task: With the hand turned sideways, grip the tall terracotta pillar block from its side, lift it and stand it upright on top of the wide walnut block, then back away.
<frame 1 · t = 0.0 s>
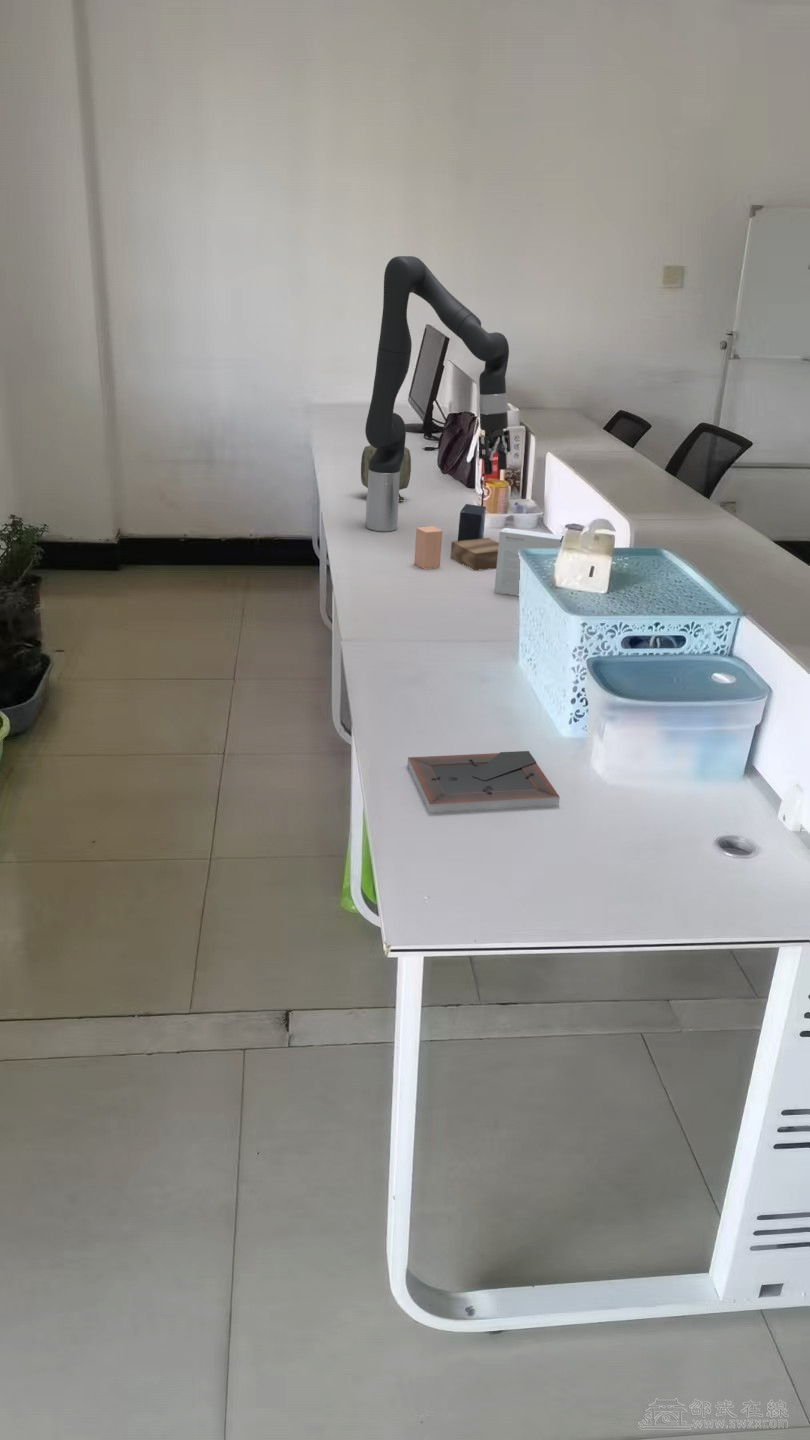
hand: (495, 471, 304), 22 cm above the table, tool pointing down, fingers open, 8 cm apart
tabletop clock: (383, 501, 361), on the table
terracotta pillar: (426, 565, 296), on the table
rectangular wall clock: (480, 789, 184), on the table
small box: (470, 545, 318), on the table
skincare box: (536, 597, 278), on the table
walnut block: (480, 563, 303), on the table
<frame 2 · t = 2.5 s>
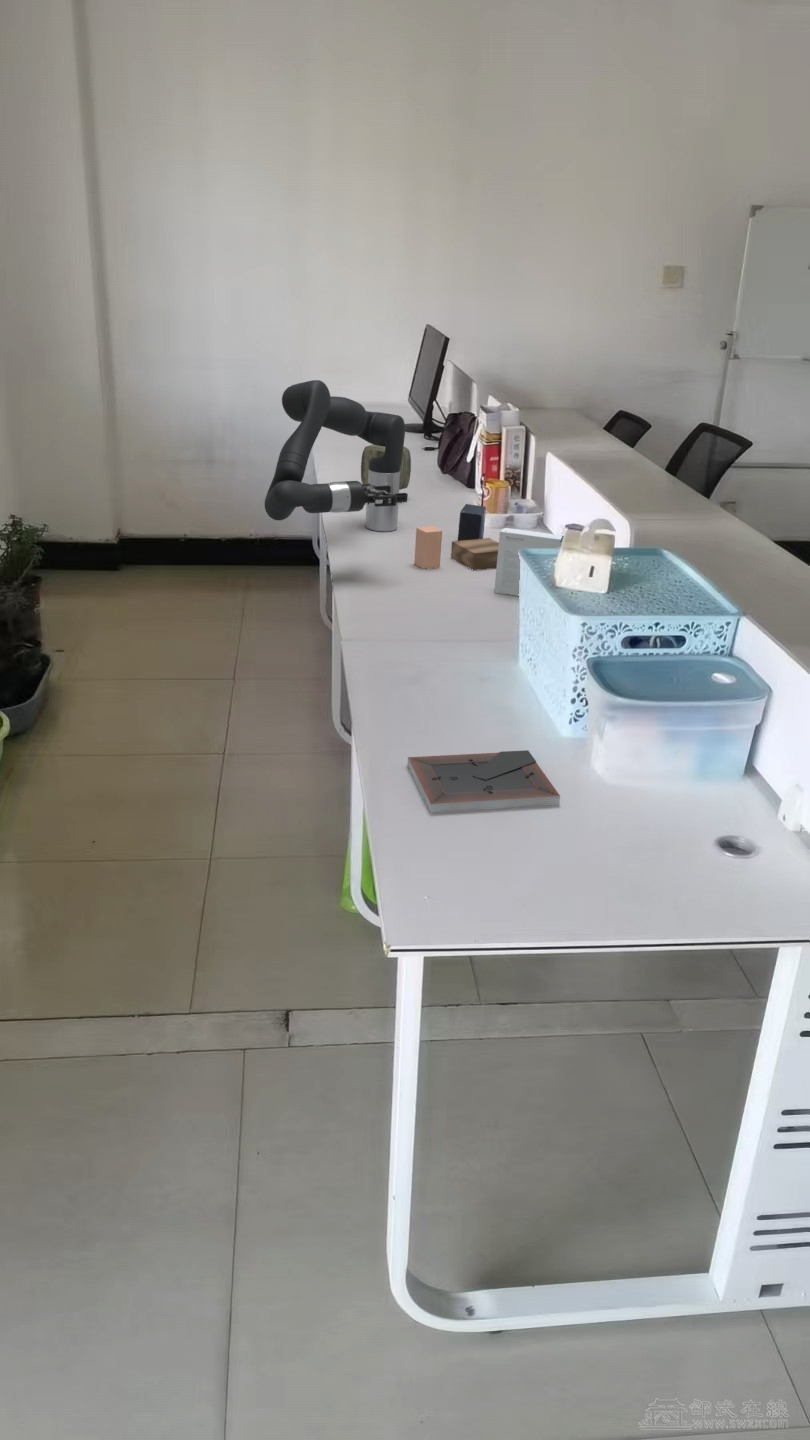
hand: (398, 493, 283), 20 cm above the table, tool horizontal, fingers open, 8 cm apart
nothing on the table moved.
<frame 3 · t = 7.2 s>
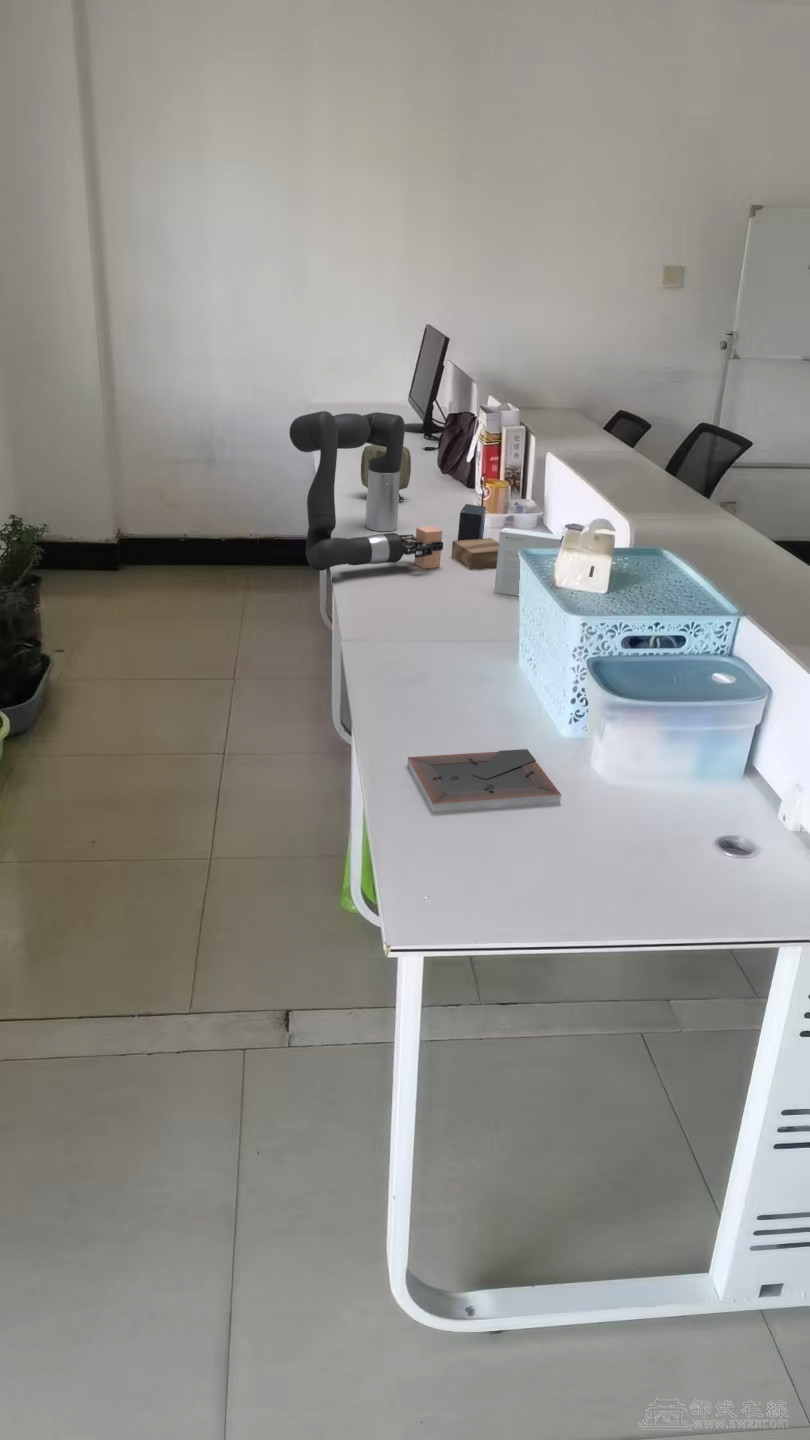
hand: (436, 542, 295), 6 cm above the table, tool horizontal, fingers closed on terracotta pillar, 5 cm apart
terracotta pillar: (426, 565, 296), on the table, touching gripper
everything else where it was.
when the fingers open (12 cm above the table, at t = 12.2 s): terracotta pillar drops 2 cm, resting on walnut block.
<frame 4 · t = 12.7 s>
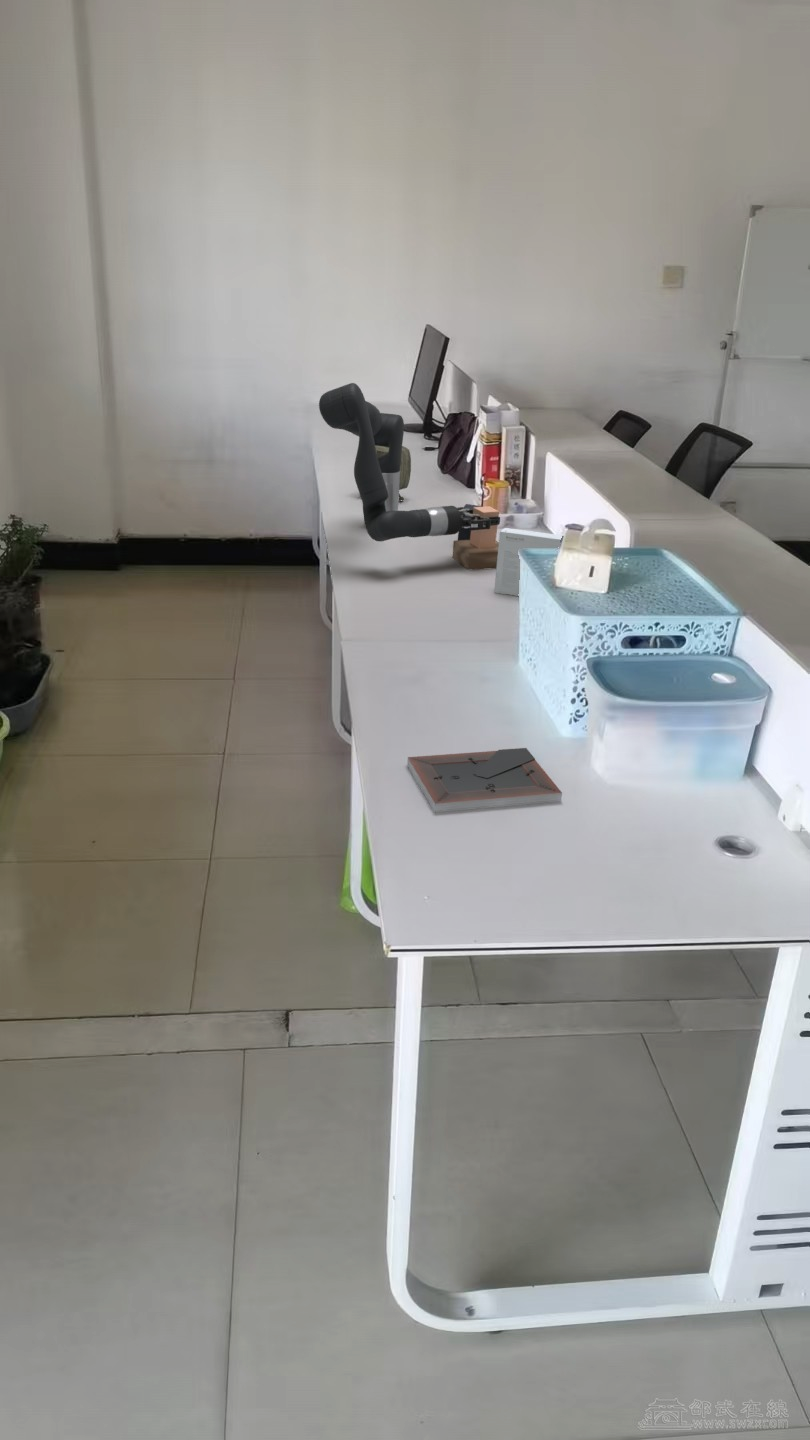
hand: (490, 516, 298), 13 cm above the table, tool horizontal, fingers open, 8 cm apart
terracotta pillar: (482, 545, 301), point 5 cm above the table, touching walnut block
walnut block: (480, 563, 303), on the table, touching terracotta pillar
everything else where it was.
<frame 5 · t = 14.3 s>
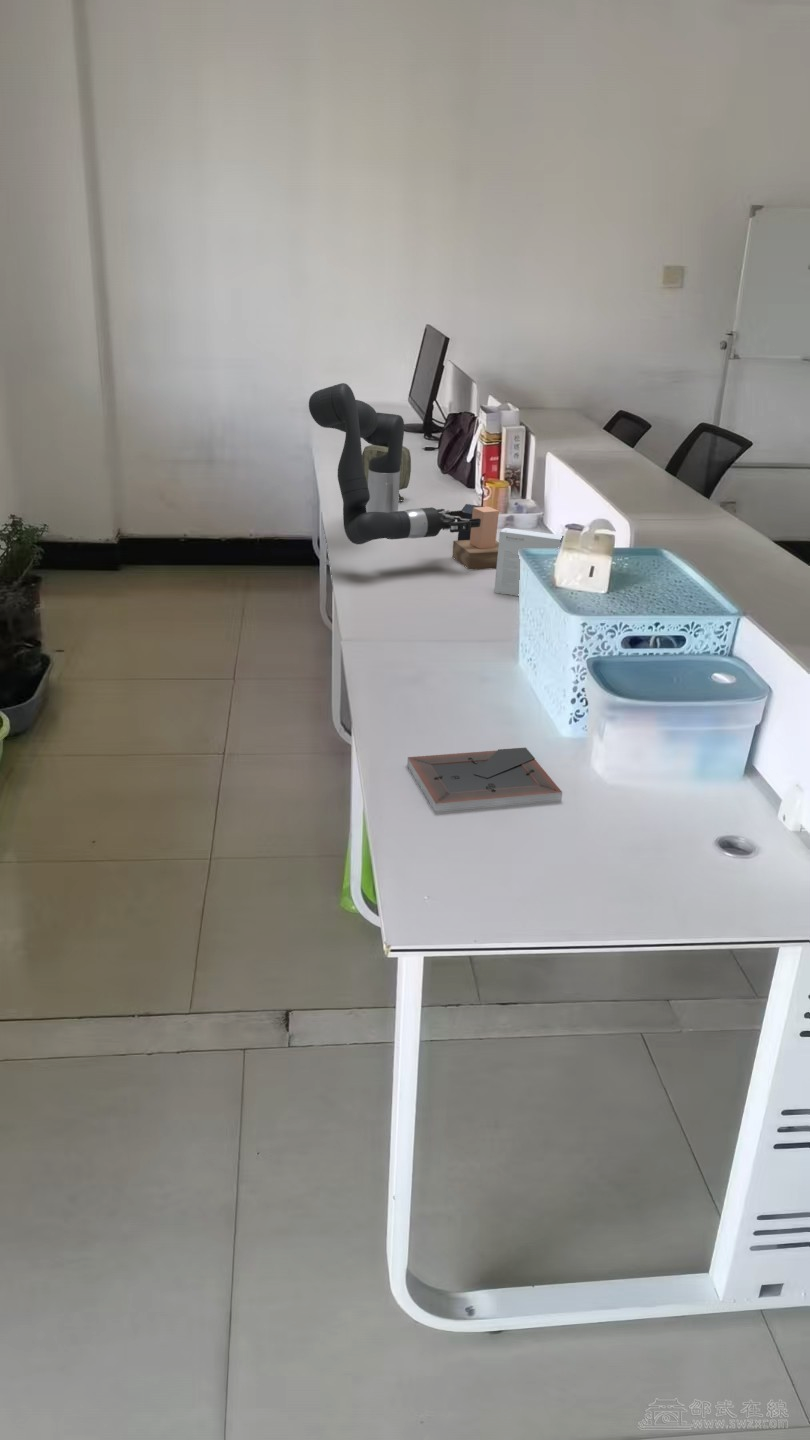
hand: (471, 518, 295), 12 cm above the table, tool horizontal, fingers open, 8 cm apart
nothing on the table moved.
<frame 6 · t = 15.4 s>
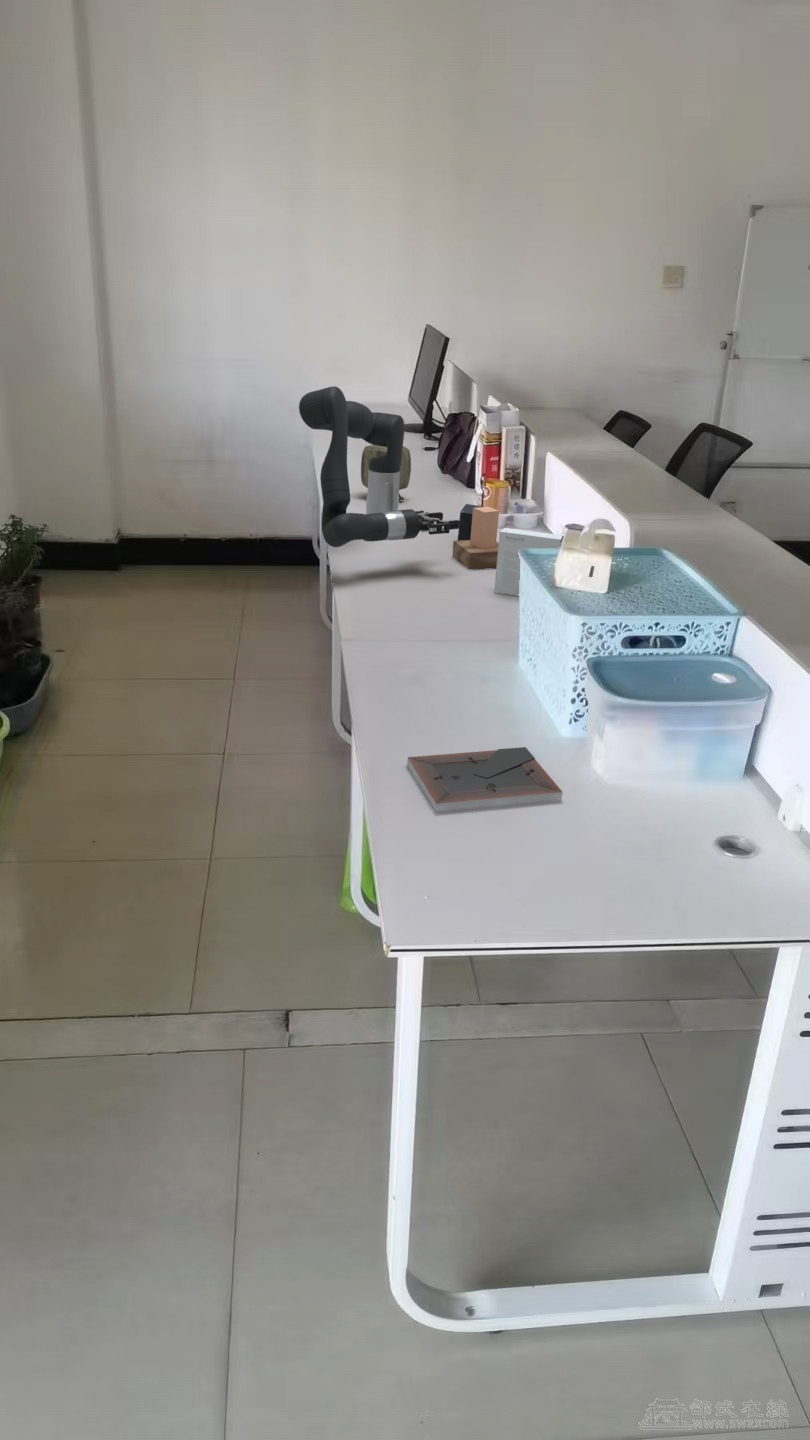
hand: (450, 520, 292), 13 cm above the table, tool horizontal, fingers open, 8 cm apart
nothing on the table moved.
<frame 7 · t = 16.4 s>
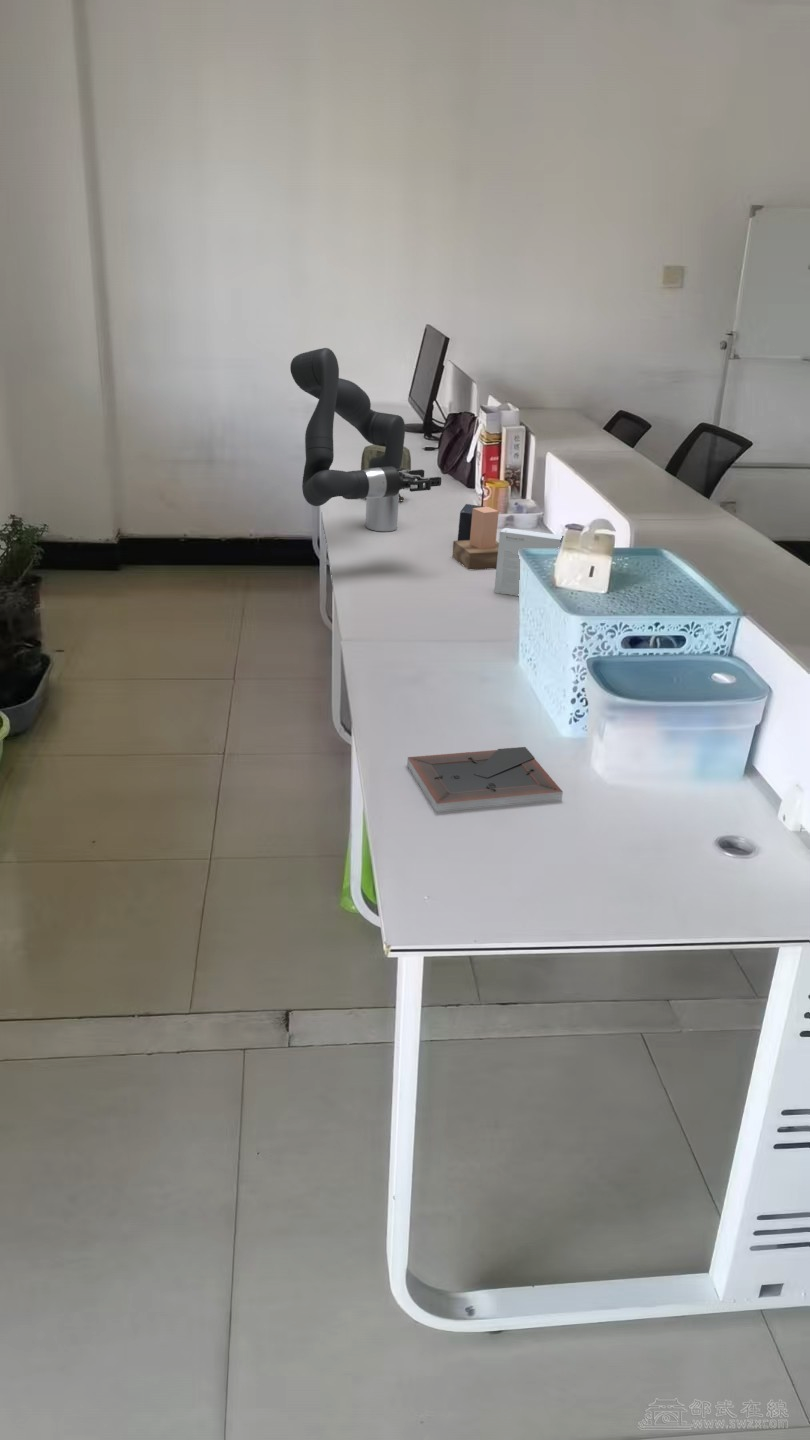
hand: (431, 477, 290), 23 cm above the table, tool horizontal, fingers open, 8 cm apart
terracotta pillar: (482, 545, 301), point 5 cm above the table
walnut block: (480, 563, 303), on the table
everything else where it was.
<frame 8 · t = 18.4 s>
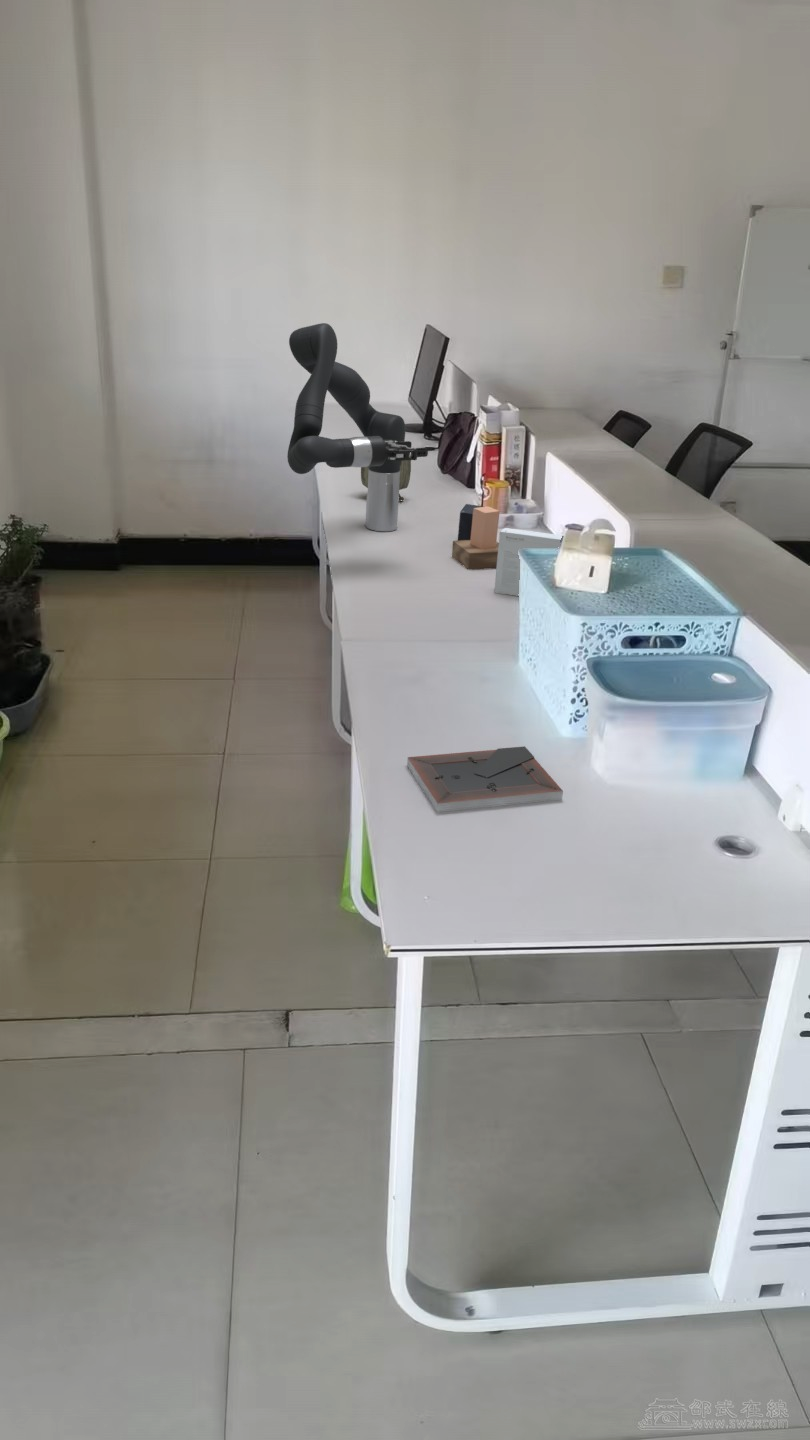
hand: (418, 448, 288), 30 cm above the table, tool horizontal, fingers open, 8 cm apart
at the end: terracotta pillar inside the target area on the walnut block (0.3 cm from its centre), point 5.1 cm above the walnut block's base; terracotta pillar tilted 2°; the gripper is holding nothing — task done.
